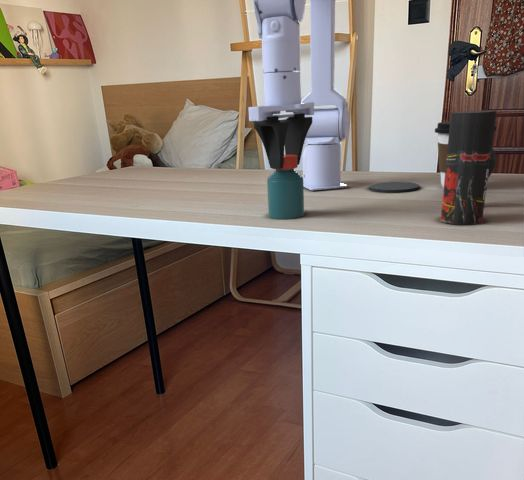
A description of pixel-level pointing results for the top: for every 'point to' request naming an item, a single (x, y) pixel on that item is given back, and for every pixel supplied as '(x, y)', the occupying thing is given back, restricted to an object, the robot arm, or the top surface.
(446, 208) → the deodorant
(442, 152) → the coffee cup
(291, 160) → the cap
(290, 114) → the robot arm
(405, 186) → the coaster
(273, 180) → the bottle
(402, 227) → the top surface
